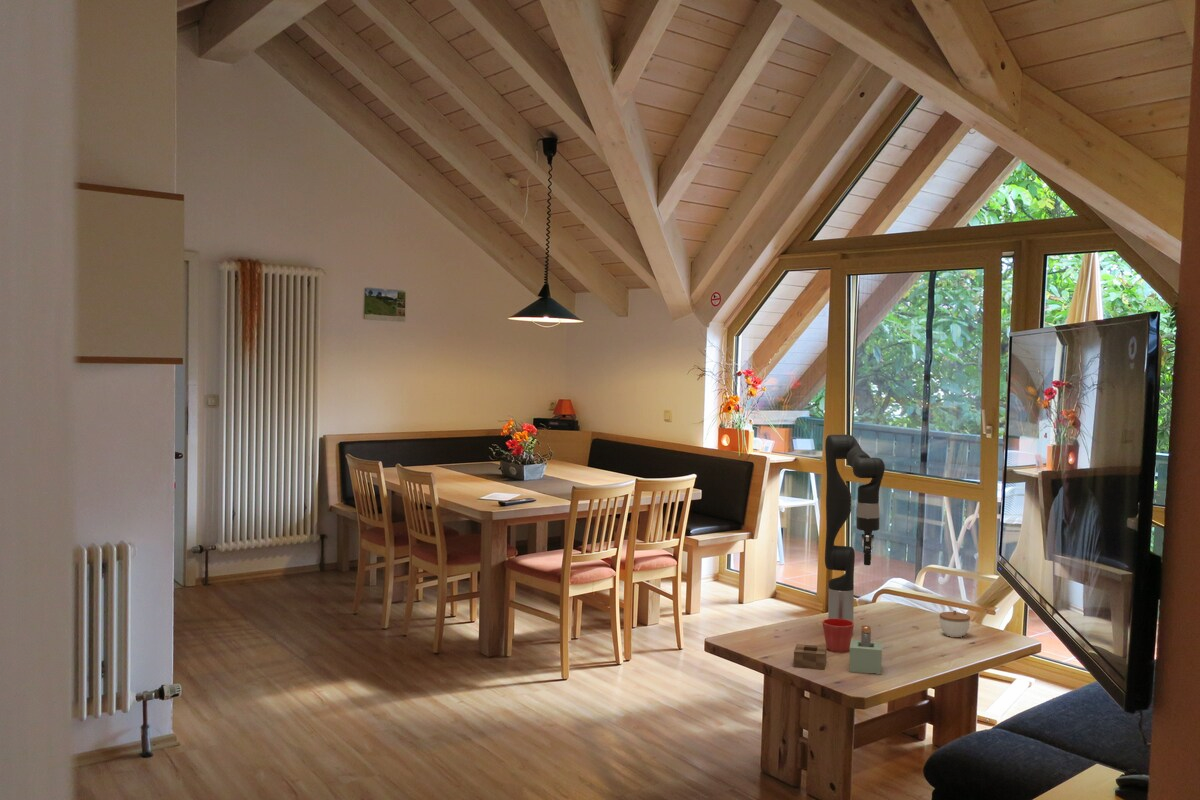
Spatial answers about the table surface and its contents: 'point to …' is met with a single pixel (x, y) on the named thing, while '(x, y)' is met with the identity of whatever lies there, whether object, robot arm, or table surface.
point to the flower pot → (838, 634)
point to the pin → (865, 636)
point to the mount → (810, 656)
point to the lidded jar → (954, 623)
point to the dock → (865, 657)
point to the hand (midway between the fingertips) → (867, 562)
